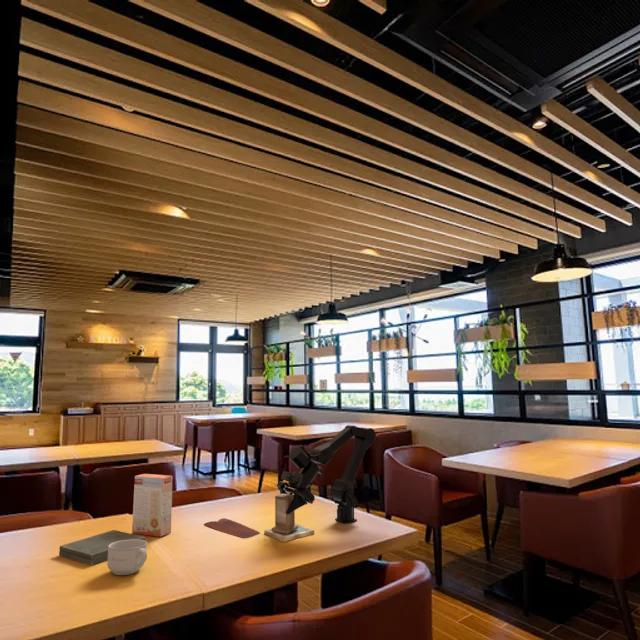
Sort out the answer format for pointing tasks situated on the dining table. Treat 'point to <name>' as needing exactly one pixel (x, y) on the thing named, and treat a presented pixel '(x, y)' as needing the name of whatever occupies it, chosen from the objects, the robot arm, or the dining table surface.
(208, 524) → the wooden tablet
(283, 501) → the stepped wooden pillar
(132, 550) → the teacup
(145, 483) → the cracker box
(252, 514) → the dining table surface
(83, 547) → the case
